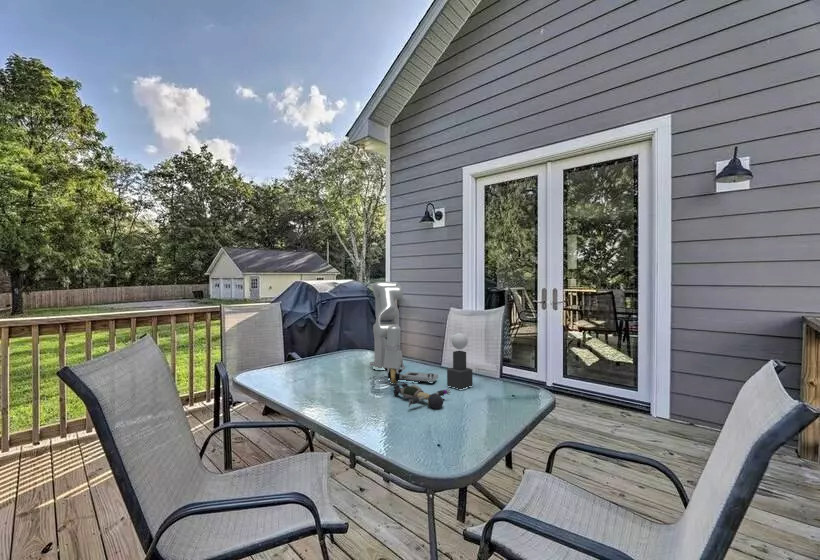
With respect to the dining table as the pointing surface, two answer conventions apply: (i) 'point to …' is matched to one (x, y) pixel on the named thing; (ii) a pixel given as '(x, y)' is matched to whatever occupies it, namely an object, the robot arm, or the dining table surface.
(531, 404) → the dining table surface
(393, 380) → the pin
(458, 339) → the sculpture
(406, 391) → the toy
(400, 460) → the dining table surface
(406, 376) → the grey flat block
